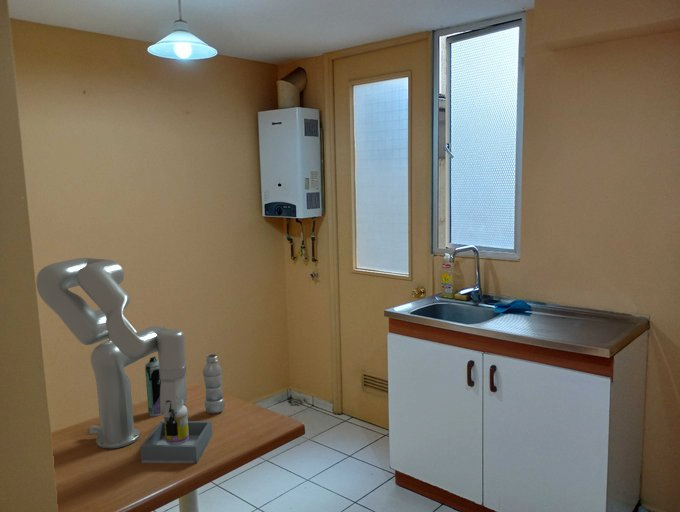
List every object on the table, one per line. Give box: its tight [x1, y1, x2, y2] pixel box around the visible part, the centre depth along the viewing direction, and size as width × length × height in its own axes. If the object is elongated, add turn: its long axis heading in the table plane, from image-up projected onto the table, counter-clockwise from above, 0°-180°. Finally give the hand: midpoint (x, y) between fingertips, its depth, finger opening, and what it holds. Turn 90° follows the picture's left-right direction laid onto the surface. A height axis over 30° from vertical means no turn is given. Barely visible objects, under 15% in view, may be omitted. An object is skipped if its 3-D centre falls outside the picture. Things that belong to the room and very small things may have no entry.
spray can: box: [144, 356, 163, 417], centre depth 189 cm, size 6×6×20 cm
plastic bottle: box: [202, 353, 226, 414], centre depth 189 cm, size 6×7×20 cm
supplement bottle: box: [163, 400, 189, 445], centre depth 164 cm, size 7×7×13 cm
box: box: [139, 420, 213, 464], centre depth 165 cm, size 16×16×5 cm
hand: (176, 429), depth 164 cm, fingers closed on supplement bottle, 6 cm apart
